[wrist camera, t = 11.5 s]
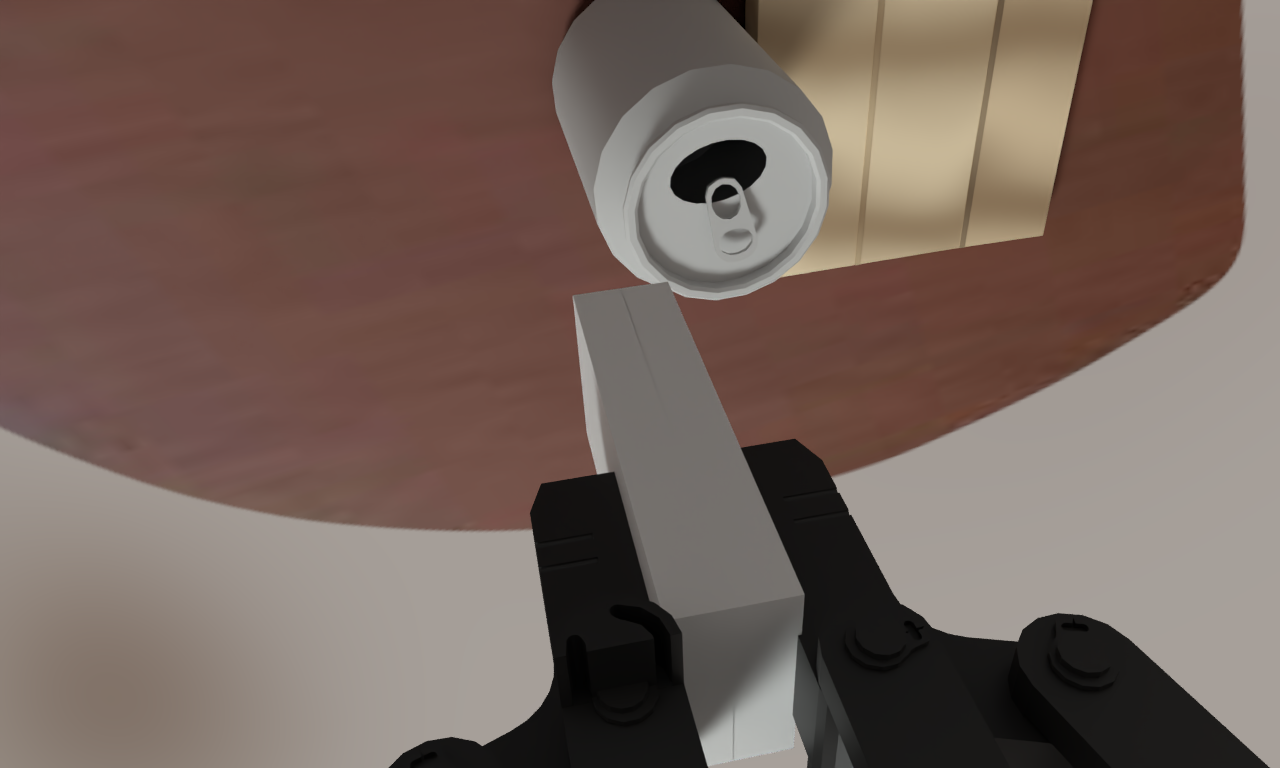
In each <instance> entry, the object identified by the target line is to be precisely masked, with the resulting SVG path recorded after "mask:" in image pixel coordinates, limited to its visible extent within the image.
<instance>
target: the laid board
mask: <svg viewBox="0 0 1280 768" xmlns="http://www.w3.org/2000/svg"><path fill="white" fill-rule="evenodd" d="M1092 2H1093V0H998V2H997V8H996V14H995V20H994V27H993V33H992V39H991V46H990V52H989V58H988V65H987V71H986V77H985V84H984V90H983V96H982V103H981V109H980V115H979V122H978V128H977V134H976V141H975V147H974V153H973V160H972V166H971V172H970V179H969V185H968V191H967V198H966V204H965V210H964V217H963V223H962V229H961V236H960V242H959V248H963V247H967V246H974V245H981V244H987V243H994V242H1001V241H1008V240H1015V239H1022V238H1029V237H1035V236H1042V235H1043V232H1044V228H1045V223H1046V218H1047V213H1048V209H1049V204H1050V199H1051V195H1052V190H1053V185H1054V180H1055V176H1056V171H1057V166H1058V162H1059V157H1060V152H1061V148H1062V143H1063V138H1064V133H1065V129H1066V124H1067V119H1068V115H1069V110H1070V105H1071V100H1072V96H1073V91H1074V86H1075V82H1076V77H1077V72H1078V67H1079V63H1080V58H1081V53H1082V49H1083V44H1084V39H1085V35H1086V30H1087V25H1088V20H1089V16H1090V11H1091V6H1092Z"/></svg>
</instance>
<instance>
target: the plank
mask: <svg viewBox="0 0 1280 768" xmlns="http://www.w3.org/2000/svg"><path fill="white" fill-rule="evenodd" d="M997 2H998V0H746V4H745V31H746V32H747V33H748V34H749V35H750V36H751V37H752V38H753V39H754V40H755V41H756V42H757V43H758V45H759V46H760V47H761V48H762V49H763V50H764V51H765V52H766V53H767V54H768V55H769V56H770V57H771V58H772V59H773V60H774V61H775V62H776V64H777V65H778V66H779V67H780V68H781V69H782V70H783V71H784V72H785V73H786V74H787V75H788V76H789V77H790V78H791V79H792V80H793V81H794V83H795V84H796V85H797V86H798V87H799V88H800V89H801V90H802V91H803V93H804V94H805V95H806V96H807V98H808V99H809V100H810V102H811V103H812V104H813V105H814V107H815V108H816V109H817V110H818V112H819V113H820V114H821V115H822V117H823V120H824V123H825V126H826V130H827V133H828V136H829V139H830V143H831V146H832V149H833V158H832V185H831V188H830V191H829V206H828V209H827V212H826V215H825V217H824V220H823V223H822V226H821V228H820V231H819V234H818V236H817V237H816V239H815V240H814V241H813V243H812V244H811V246H810V247H809V248H808V250H807V251H806V253H805V254H804V255H803V257H802V258H801V260H800V261H799V262H798V263H796V264H795V265H794V266H793V267H792V268H790V269H789V270H788V271H787V272H785V273H784V274H783V275H782V276H781V277H785V276H791V275H797V274H803V273H809V272H815V271H821V270H827V269H833V268H839V267H845V266H851V265H860V264H863V263H869V262H875V261H881V260H887V259H893V258H899V257H905V256H912V255H918V254H924V253H930V252H936V251H942V250H948V249H954V248H959V242H960V236H961V229H962V223H963V217H964V210H965V204H966V198H967V191H968V185H969V179H970V172H971V166H972V160H973V153H974V147H975V141H976V134H977V128H978V122H979V115H980V109H981V103H982V96H983V90H984V84H985V77H986V71H987V65H988V58H989V52H990V46H991V39H992V33H993V27H994V20H995V14H996V8H997Z"/></svg>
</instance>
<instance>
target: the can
mask: <svg viewBox="0 0 1280 768" xmlns="http://www.w3.org/2000/svg"><path fill="white" fill-rule="evenodd" d="M552 85H553V92H554V100H555V107H556V113H557V116H558V118H559V121H560V124H561V126H562V129H563V132H564V135H565V137H566V140H567V143H568V145H569V148H570V151H571V153H572V156H573V159H574V162H575V164H576V167H577V170H578V172H579V175H580V178H581V181H582V183H583V186H584V189H585V191H586V194H587V197H588V199H589V202H590V205H591V208H592V210H593V213H594V216H595V218H596V221H597V224H598V226H599V228H600V230H601V232H602V234H603V236H604V238H605V240H606V242H607V244H608V246H609V248H610V250H611V252H612V254H613V255H614V256H615V257H616V258H617V259H618V260H619V261H620V262H621V263H622V264H624V265H625V266H626V267H627V268H628V269H629V270H630V271H631V272H632V273H633V274H634V275H635V276H636V277H638V278H640V279H642V280H645V281H647V282H649V283H652V284H655V283H662V282H668V283H669V285H670V288H671V290H672V291H673V292H676V293H678V294H680V295H682V296H685V297H690V298H700V299H709V300H719V299H725V298H730V297H736V296H742V295H747V294H749V293H751V292H753V291H755V290H757V289H759V288H762V287H764V286H766V285H768V284H770V283H772V282H774V281H776V280H777V279H778V278H779V277H781V276H782V275H783V274H784V273H785V272H787V271H788V270H789V269H790V268H792V267H793V266H794V265H795V264H796V263H798V262H799V261H800V260H801V258H802V257H803V255H804V254H805V253H806V251H807V250H808V248H809V247H810V246H811V244H812V243H813V241H814V240H815V239H816V237H817V236H818V234H819V231H820V228H821V226H822V223H823V220H824V217H825V215H826V212H827V209H828V206H829V191H830V188H831V185H832V158H833V149H832V146H831V143H830V139H829V136H828V133H827V130H826V126H825V123H824V120H823V117H822V115H821V114H820V113H819V112H818V110H817V109H816V108H815V107H814V105H813V104H812V103H811V102H810V100H809V99H808V98H807V96H806V95H805V94H804V93H803V91H802V90H801V89H800V88H799V87H798V86H797V85H796V84H795V83H794V81H793V80H792V79H791V78H790V77H789V76H788V75H787V74H786V73H785V72H784V71H783V70H782V69H781V68H780V67H779V66H778V65H777V64H776V62H775V61H774V60H773V59H772V58H771V57H770V56H769V55H768V54H767V53H766V52H765V51H764V50H763V49H762V48H761V47H760V46H759V45H758V43H757V42H756V41H755V40H754V39H753V38H752V37H751V36H750V35H749V34H748V33H747V32H746V31H745V30H744V29H743V28H742V27H741V26H740V24H739V23H738V22H737V21H736V20H735V19H734V18H733V17H732V16H731V15H730V14H729V13H728V12H727V11H726V10H725V9H724V8H723V7H722V5H721V4H720V3H719V2H718V1H717V0H594V1H593V2H592V3H591V4H590V5H589V6H588V7H587V8H586V9H585V10H584V11H583V12H582V13H581V14H580V15H579V16H578V17H577V18H576V19H575V20H574V21H573V23H572V25H571V27H570V28H569V30H568V32H567V34H566V36H565V38H564V40H563V41H562V43H561V45H560V47H559V49H558V52H557V58H556V63H555V68H554V74H553V79H552Z"/></svg>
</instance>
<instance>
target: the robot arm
mask: <svg viewBox="0 0 1280 768" xmlns="http://www.w3.org/2000/svg"><path fill="white" fill-rule="evenodd" d="M573 302H574V312H575V322H576V331H577V341H578V351H579V361H580V370H581V380H582V390H583V399H584V409H585V419H586V429H587V435H588V439H589V443H590V447H591V451H592V455H593V459H594V463H595V467H596V471H597V475H591V476H585V477H579V478H573V479H567V480H561V481H555V482H549V483H543V484H541V486H540V488H539V491H538V493H537V496H536V499H535V501H534V504H533V506H532V509H531V512H530V516H531V522H532V529H533V535H534V542H535V548H536V555H537V561H538V567H539V574H540V580H541V586H542V593H543V599H544V605H545V612H546V618H547V624H548V630H549V637H550V643H551V649H552V655H553V662H554V678H553V681H552V685H551V688H550V692H549V693H548V695H547V697H546V699H545V700H544V702H543V703H542V705H541V707H540V708H539V709H538V710H537V711H536V712H535V713H534V714H533V715H532V716H531V717H530V718H529V719H528V720H527V721H525V722H524V723H523V724H521V725H520V726H518V727H516V728H515V729H513V730H512V731H510V732H508V733H506V734H505V735H503V736H501V737H499V738H497V739H495V740H493V741H491V742H489V743H487V744H486V745H484V746H481V745H480V744H478V743H477V742H474V741H469V740H464V739H459V738H454V737H449V738H443V739H437V740H432V741H426V742H424V743H422V744H420V745H419V746H416V747H415V748H413V749H411V750H409V751H407V752H405V753H403V754H402V755H401V756H400V757H399V758H398V759H397V760H396V761H395V762H394V763H393V764H392V765H391V766H390V767H389V768H708V766H711V765H716V764H721V763H726V762H731V761H735V760H740V759H745V758H750V757H755V756H759V755H764V754H769V753H773V752H778V751H783V750H788V749H792V748H794V736H795V723H796V725H797V728H798V731H799V733H800V736H801V739H802V741H803V744H804V747H805V750H806V752H807V755H808V764H807V768H1269V767H1268V766H1267V765H1266V764H1265V763H1264V762H1263V761H1262V760H1261V759H1260V758H1258V757H1257V756H1256V755H1255V754H1254V753H1253V752H1252V751H1251V750H1250V749H1249V748H1247V747H1246V746H1245V745H1244V744H1243V743H1242V742H1241V741H1240V740H1239V739H1238V738H1237V737H1235V736H1234V735H1233V734H1232V733H1231V732H1230V731H1229V730H1228V729H1227V728H1226V727H1225V726H1223V725H1222V724H1221V723H1220V722H1219V721H1218V720H1217V719H1216V718H1215V717H1214V716H1212V715H1211V714H1210V713H1209V712H1208V711H1207V710H1206V709H1205V708H1204V707H1203V706H1202V705H1200V704H1199V703H1198V702H1197V701H1196V700H1195V699H1194V698H1193V697H1192V696H1190V694H1188V693H1187V692H1186V691H1185V690H1184V689H1183V688H1182V687H1181V686H1180V685H1178V684H1177V683H1176V682H1175V681H1174V680H1173V679H1172V678H1171V677H1170V676H1169V675H1168V674H1167V673H1165V672H1164V671H1163V670H1162V669H1161V668H1160V667H1159V666H1158V665H1157V664H1156V663H1154V662H1153V661H1152V660H1151V659H1150V658H1149V657H1148V656H1147V655H1146V654H1145V653H1144V652H1142V651H1141V650H1140V649H1139V648H1138V647H1137V646H1136V645H1135V644H1134V643H1132V641H1130V640H1129V639H1128V638H1127V637H1125V636H1123V635H1122V634H1121V633H1119V632H1118V631H1116V630H1115V629H1114V628H1112V627H1111V626H1109V625H1108V624H1105V623H1103V622H1100V621H1097V620H1094V619H1092V618H1089V617H1086V616H1083V615H1073V614H1060V613H1057V614H1053V615H1049V616H1045V617H1041V618H1037V619H1036V620H1035V621H1033V622H1032V623H1031V624H1029V625H1028V626H1027V627H1026V628H1024V629H1023V630H1022V633H1021V635H1020V638H1019V641H1018V642H1015V641H1003V640H991V639H981V638H969V637H963V636H957V635H952V634H947V633H945V632H942V631H940V630H936V629H934V628H932V627H931V626H930V625H929V624H928V623H927V621H926V620H925V619H924V618H923V617H922V616H920V615H919V614H917V613H916V612H914V611H912V610H911V609H909V608H907V607H906V606H904V605H901V604H900V603H899V601H898V600H897V599H896V597H895V596H894V594H893V593H892V591H891V589H890V587H889V585H888V583H887V581H886V579H885V578H884V576H883V574H882V572H881V570H880V568H879V566H878V565H877V563H876V561H875V559H874V557H873V555H872V553H871V551H870V549H869V548H868V546H867V544H866V542H865V540H864V538H863V536H862V534H861V532H860V531H859V529H858V527H857V525H856V523H855V521H854V519H853V517H852V516H851V515H849V512H848V508H847V506H846V504H845V502H844V501H843V499H842V497H841V495H840V493H838V492H837V488H836V485H835V483H834V482H833V480H832V478H831V476H830V474H829V472H828V470H827V468H826V467H825V465H824V463H823V461H822V460H821V459H820V458H819V457H817V456H816V455H815V454H814V453H812V452H811V451H810V450H809V449H807V448H806V447H805V446H804V445H802V444H801V443H800V442H798V441H797V440H796V439H791V440H785V441H779V442H773V443H767V444H761V445H755V446H749V447H743V448H740V446H739V443H738V441H737V439H736V436H735V434H734V432H733V430H732V427H731V425H730V423H729V420H728V418H727V416H726V414H725V411H724V409H723V407H722V404H721V402H720V400H719V398H718V395H717V393H716V391H715V388H714V386H713V384H712V382H711V379H710V377H709V375H708V372H707V370H706V368H705V366H704V363H703V361H702V359H701V356H700V354H699V352H698V350H697V347H696V345H695V343H694V340H693V338H692V336H691V334H690V331H689V329H688V327H687V324H686V322H685V320H684V317H683V315H682V313H681V311H680V308H679V306H678V304H677V301H676V299H675V297H674V295H673V292H672V290H671V288H670V285H669V283H668V282H662V283H655V284H648V285H641V286H634V287H628V288H621V289H614V290H607V291H600V292H593V293H586V294H579V295H573Z"/></svg>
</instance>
